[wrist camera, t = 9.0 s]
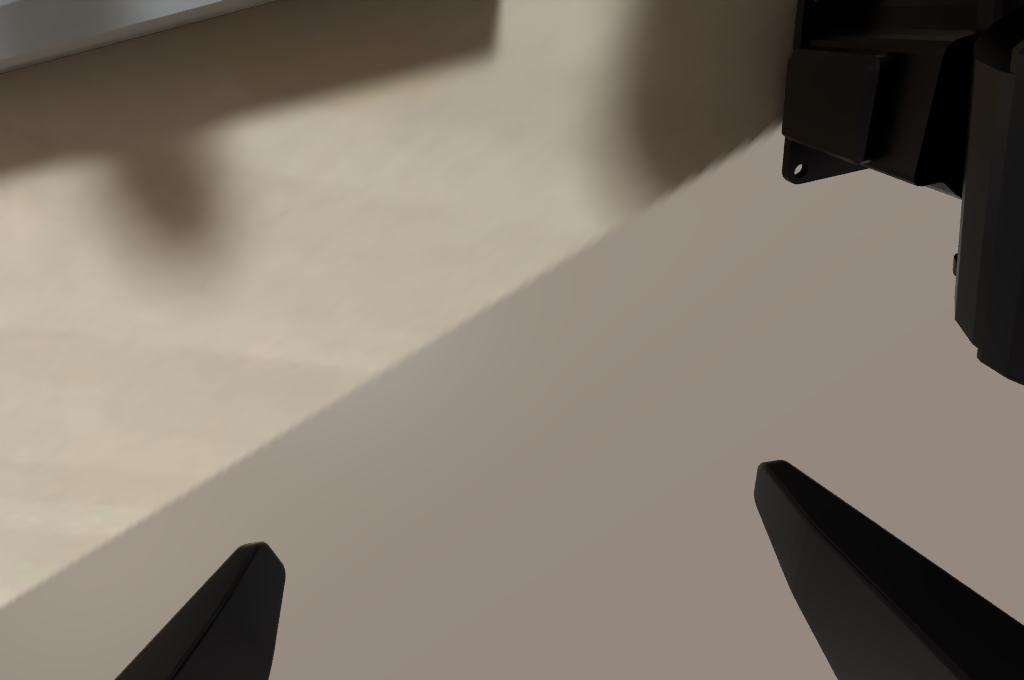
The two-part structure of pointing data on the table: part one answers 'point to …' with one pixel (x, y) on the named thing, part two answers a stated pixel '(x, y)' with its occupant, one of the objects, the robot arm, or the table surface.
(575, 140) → the table surface
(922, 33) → the robot arm
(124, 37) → the tray
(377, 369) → the table surface
